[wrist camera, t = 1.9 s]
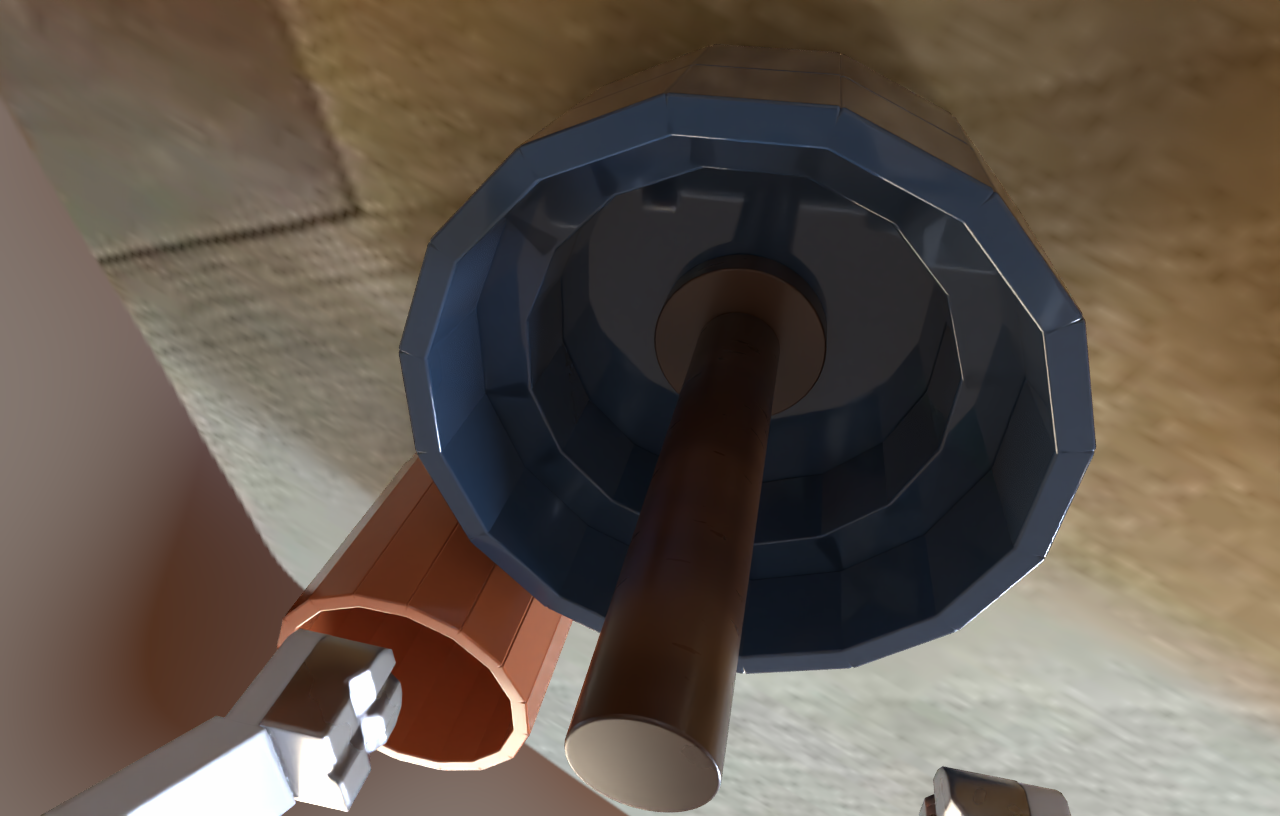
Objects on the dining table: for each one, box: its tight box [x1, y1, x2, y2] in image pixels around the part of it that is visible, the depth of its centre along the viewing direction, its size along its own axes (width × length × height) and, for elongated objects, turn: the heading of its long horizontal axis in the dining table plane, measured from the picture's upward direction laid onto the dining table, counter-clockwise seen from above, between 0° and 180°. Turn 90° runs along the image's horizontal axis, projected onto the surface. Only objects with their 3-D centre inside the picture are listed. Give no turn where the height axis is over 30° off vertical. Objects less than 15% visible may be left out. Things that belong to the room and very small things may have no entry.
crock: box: [277, 452, 573, 770], centre depth 24 cm, size 8×8×8 cm
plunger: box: [565, 254, 827, 812], centre depth 15 cm, size 5×5×13 cm
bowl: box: [399, 44, 1096, 674], centre depth 19 cm, size 14×14×6 cm
